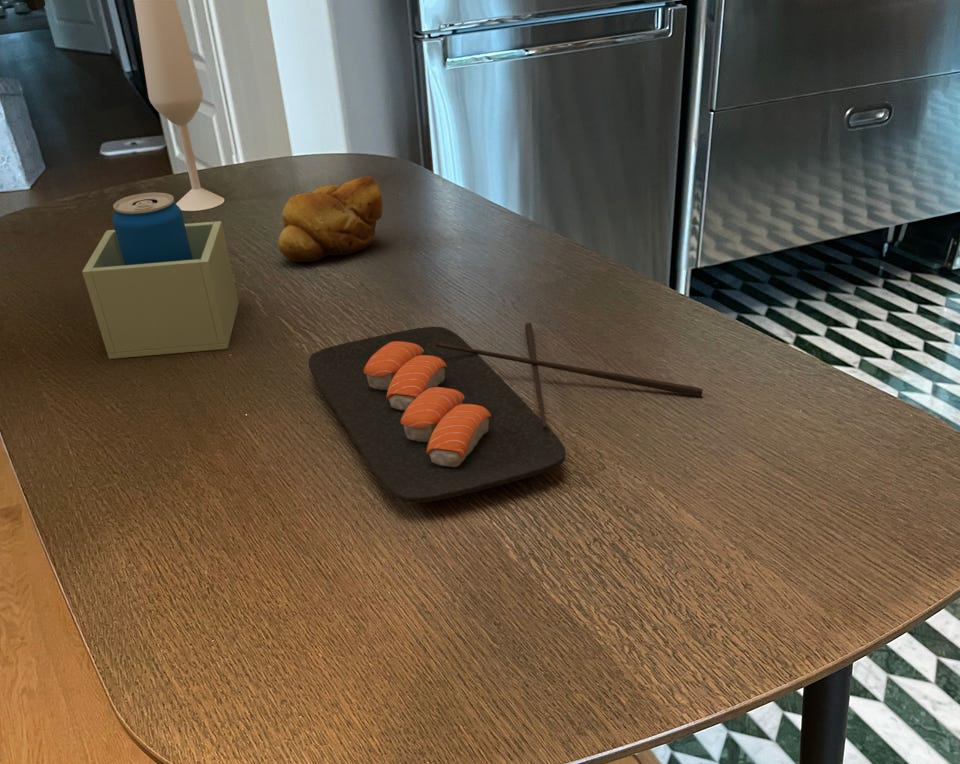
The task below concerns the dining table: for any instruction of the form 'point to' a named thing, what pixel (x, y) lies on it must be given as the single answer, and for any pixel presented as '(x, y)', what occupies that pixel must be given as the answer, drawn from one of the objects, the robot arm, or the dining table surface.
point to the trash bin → (164, 297)
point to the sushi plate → (443, 412)
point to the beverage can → (150, 229)
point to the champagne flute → (173, 83)
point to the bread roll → (331, 220)
